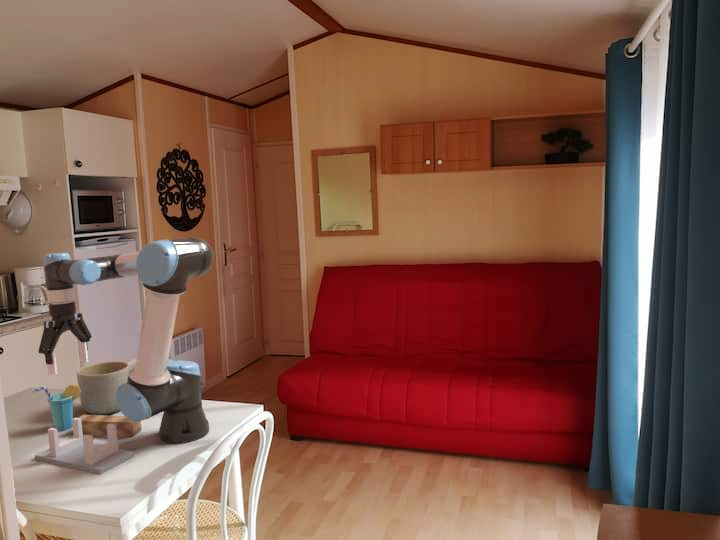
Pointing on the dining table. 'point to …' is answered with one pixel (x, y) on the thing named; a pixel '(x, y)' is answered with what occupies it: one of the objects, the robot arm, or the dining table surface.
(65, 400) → the cup
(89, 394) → the planter
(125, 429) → the rail
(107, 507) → the dining table surface
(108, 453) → the bracket board
